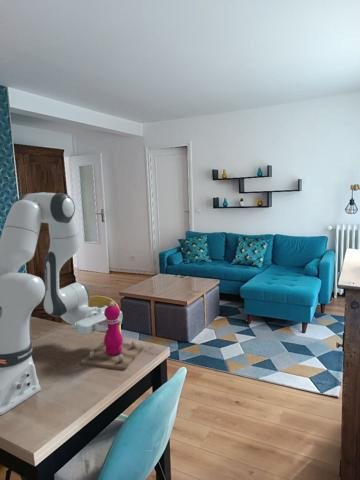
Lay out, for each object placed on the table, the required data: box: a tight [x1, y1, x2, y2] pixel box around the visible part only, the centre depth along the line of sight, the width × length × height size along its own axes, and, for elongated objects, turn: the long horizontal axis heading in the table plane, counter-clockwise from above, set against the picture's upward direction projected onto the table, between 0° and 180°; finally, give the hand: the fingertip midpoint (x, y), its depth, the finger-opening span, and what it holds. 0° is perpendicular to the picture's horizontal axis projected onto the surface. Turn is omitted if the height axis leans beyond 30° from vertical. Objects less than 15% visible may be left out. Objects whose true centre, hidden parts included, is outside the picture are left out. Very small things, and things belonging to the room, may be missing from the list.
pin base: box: [80, 340, 144, 371], centre depth 135 cm, size 18×18×4 cm
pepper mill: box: [103, 301, 124, 355], centre depth 134 cm, size 7×7×20 cm
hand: (113, 325), depth 133 cm, fingers open, 6 cm apart
